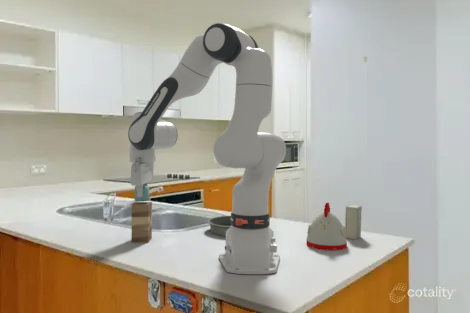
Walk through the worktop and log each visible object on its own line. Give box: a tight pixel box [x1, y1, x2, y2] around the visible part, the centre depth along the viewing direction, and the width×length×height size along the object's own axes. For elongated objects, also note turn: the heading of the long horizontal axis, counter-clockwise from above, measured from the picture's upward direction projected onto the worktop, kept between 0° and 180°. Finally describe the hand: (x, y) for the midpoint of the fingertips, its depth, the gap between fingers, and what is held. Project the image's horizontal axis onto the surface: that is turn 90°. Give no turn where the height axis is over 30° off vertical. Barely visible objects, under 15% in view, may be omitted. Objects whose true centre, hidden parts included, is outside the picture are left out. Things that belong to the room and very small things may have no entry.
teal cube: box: [134, 185, 150, 202], centre depth 146 cm, size 5×5×5 cm
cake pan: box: [206, 215, 231, 237], centre depth 164 cm, size 25×25×4 cm
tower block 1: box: [131, 201, 153, 218], centre depth 146 cm, size 6×6×4 cm
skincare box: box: [344, 204, 363, 240], centre depth 155 cm, size 6×4×12 cm
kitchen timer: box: [306, 202, 348, 251], centre depth 143 cm, size 14×14×15 cm
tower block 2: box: [131, 214, 153, 231], centre depth 147 cm, size 6×6×4 cm
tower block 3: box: [130, 226, 153, 243], centre depth 147 cm, size 6×6×4 cm
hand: (142, 195), depth 146 cm, fingers closed on teal cube, 5 cm apart
